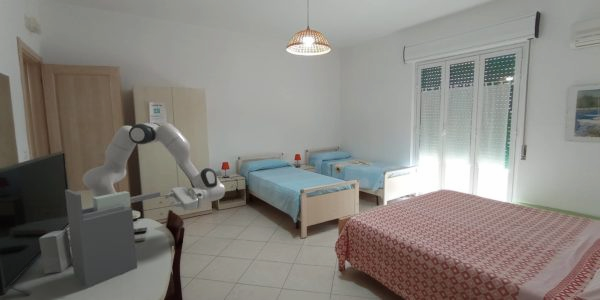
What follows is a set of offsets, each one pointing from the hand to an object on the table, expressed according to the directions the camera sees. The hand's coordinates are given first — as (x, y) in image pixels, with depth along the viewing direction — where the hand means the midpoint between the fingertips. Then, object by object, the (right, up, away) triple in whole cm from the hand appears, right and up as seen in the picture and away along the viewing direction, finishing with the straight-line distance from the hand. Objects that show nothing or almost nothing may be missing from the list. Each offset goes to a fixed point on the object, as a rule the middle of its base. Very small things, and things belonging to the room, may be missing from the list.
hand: (167, 200), depth 139 cm
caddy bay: (-15, -26, -22) cm, 37 cm away
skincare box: (-39, -26, -18) cm, 50 cm away
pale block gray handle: (-9, +1, -16) cm, 18 cm away
